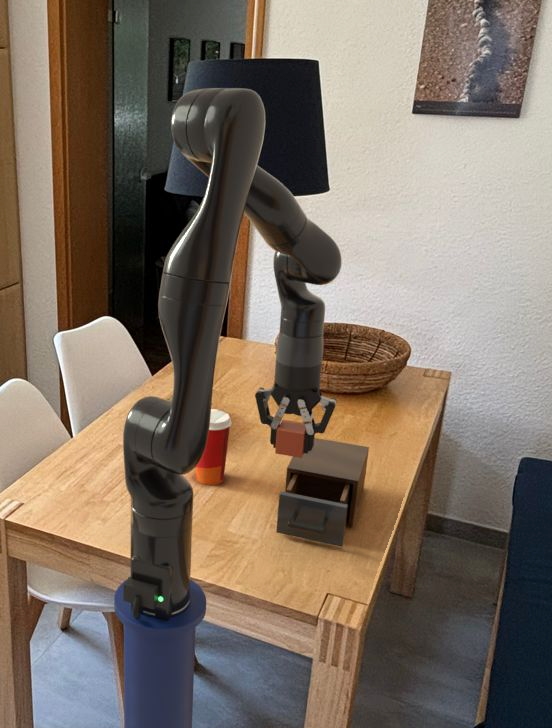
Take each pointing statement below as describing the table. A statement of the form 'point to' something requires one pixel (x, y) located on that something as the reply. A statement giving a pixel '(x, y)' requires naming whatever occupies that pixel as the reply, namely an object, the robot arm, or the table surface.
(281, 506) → the drawer
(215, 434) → the paper cup
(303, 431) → the block
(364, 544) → the table surface
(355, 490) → the cabinet
